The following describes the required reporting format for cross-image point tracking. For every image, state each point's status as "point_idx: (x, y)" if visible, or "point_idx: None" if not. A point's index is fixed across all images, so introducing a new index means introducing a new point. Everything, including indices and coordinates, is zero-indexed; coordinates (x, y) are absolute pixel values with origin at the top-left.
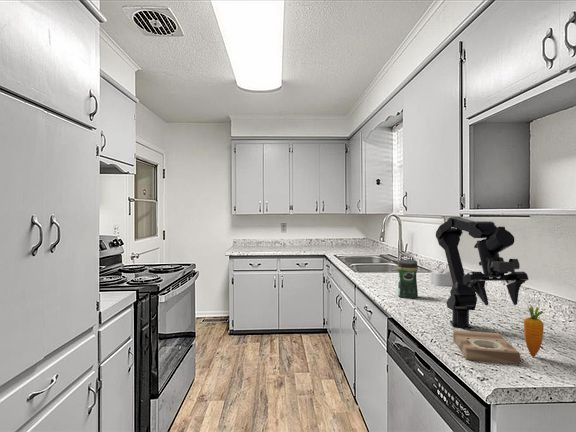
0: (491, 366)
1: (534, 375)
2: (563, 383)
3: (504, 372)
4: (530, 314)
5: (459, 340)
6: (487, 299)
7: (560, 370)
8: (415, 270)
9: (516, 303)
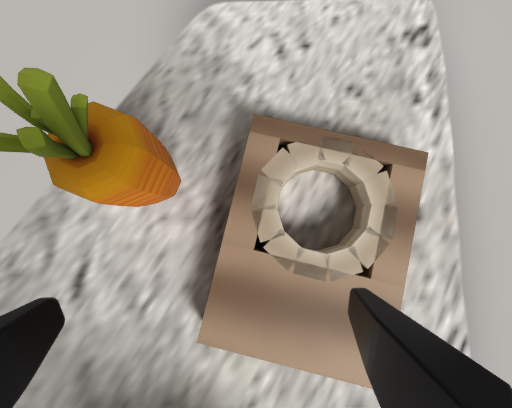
0: (350, 112)
1: (262, 55)
2: (218, 12)
3: (335, 73)
4: (78, 138)
5: (405, 262)
6: (381, 319)
7: (165, 87)
8: None
9: (40, 300)
